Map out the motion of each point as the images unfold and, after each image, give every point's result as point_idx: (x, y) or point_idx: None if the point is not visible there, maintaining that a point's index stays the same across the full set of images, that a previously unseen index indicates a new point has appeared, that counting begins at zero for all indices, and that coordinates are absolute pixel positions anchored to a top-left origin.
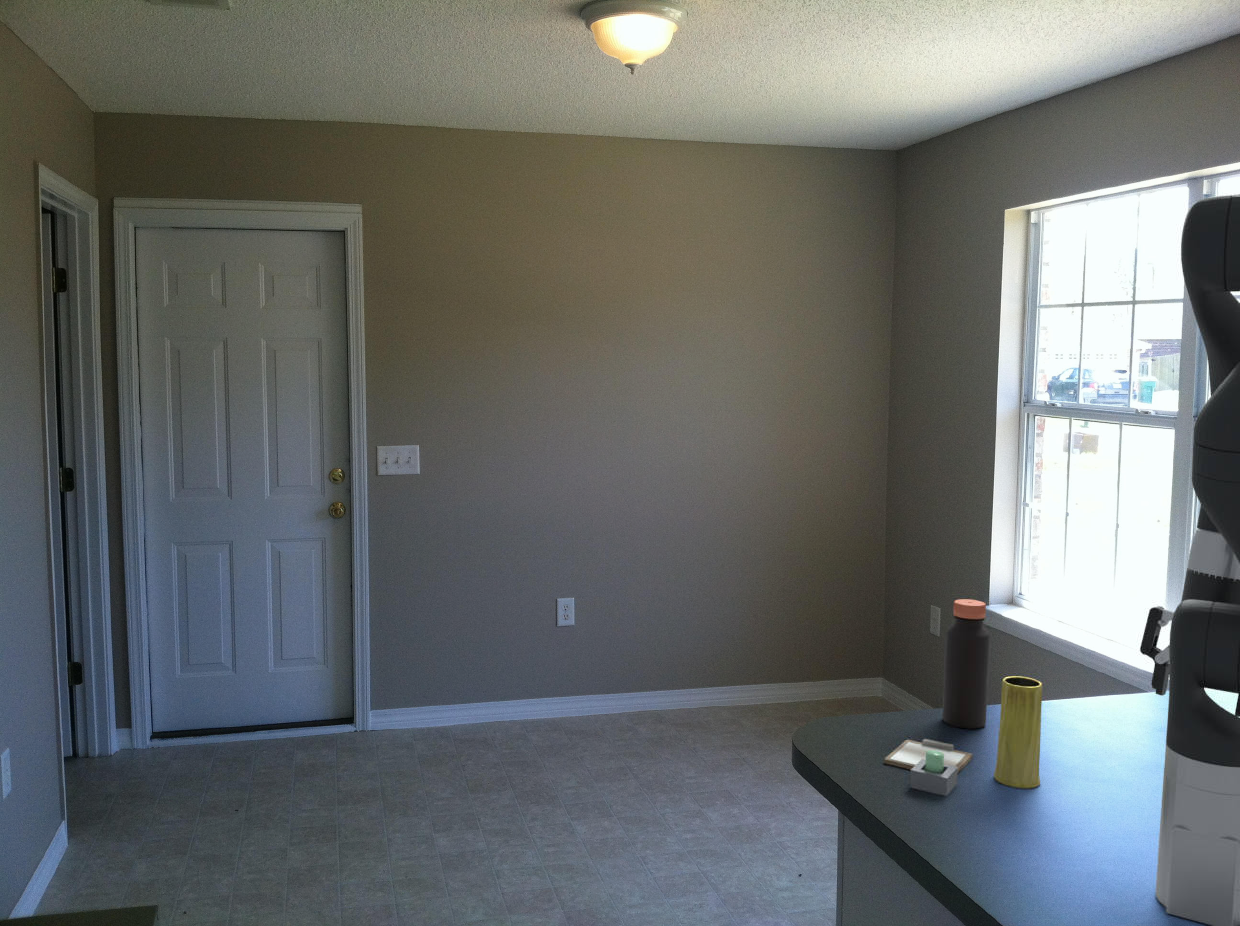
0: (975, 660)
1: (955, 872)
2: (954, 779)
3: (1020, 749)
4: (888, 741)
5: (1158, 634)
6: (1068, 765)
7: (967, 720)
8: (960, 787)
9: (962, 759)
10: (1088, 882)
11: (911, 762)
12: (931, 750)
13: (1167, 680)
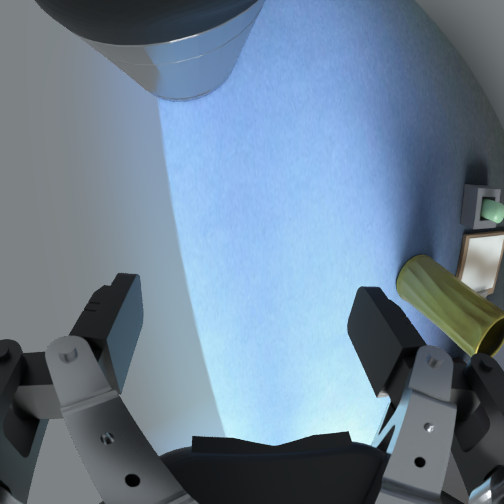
0: (482, 407)
1: (412, 6)
2: (467, 214)
3: (441, 278)
4: (500, 284)
5: (465, 458)
6: None
7: None
8: (457, 217)
9: None
10: (307, 35)
11: (492, 239)
12: (501, 220)
13: (362, 349)
